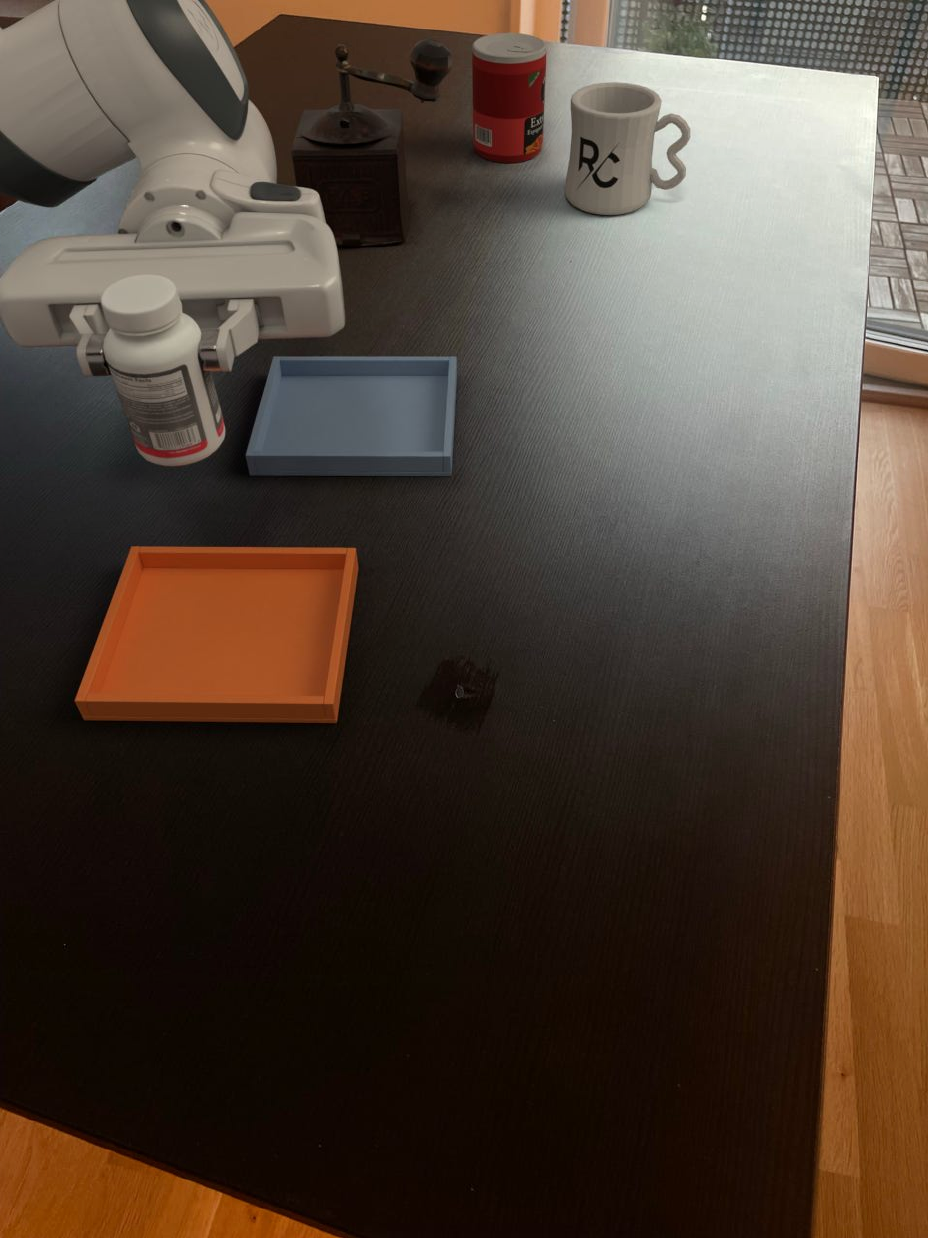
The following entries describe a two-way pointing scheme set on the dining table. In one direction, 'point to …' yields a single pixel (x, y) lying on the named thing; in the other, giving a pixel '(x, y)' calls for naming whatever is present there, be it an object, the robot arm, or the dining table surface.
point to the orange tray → (224, 636)
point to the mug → (618, 148)
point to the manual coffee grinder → (365, 152)
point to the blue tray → (355, 417)
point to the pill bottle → (160, 372)
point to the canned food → (508, 96)
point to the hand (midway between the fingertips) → (154, 363)
